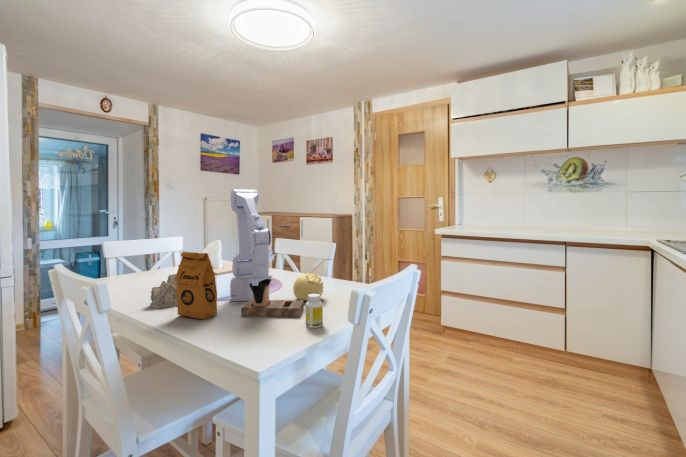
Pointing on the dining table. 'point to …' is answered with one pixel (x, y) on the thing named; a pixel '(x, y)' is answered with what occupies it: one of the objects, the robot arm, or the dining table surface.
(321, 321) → the supplement bottle
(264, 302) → the square peg
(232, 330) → the dining table surface
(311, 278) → the sculpture
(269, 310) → the socket board
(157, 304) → the ceramic cottage
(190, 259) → the coffee package
